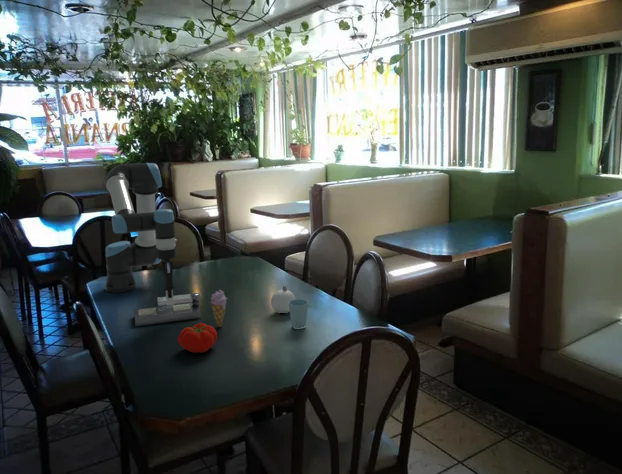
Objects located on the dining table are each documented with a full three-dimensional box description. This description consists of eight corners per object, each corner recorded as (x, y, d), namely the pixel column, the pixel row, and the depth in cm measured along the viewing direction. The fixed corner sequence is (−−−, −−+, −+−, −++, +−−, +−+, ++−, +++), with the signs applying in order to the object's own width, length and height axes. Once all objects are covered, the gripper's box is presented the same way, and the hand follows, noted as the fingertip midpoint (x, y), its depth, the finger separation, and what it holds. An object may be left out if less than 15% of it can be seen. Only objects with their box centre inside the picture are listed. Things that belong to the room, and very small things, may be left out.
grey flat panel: (157, 302, 214) (157, 296, 213) (199, 297, 220) (198, 291, 219) (158, 306, 209) (157, 300, 208) (200, 301, 214) (200, 295, 214)
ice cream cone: (231, 324, 202) (230, 289, 199) (224, 330, 196) (222, 293, 193) (217, 323, 204) (215, 287, 201) (209, 328, 198) (207, 292, 195)
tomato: (182, 361, 170) (181, 336, 168) (176, 347, 181) (175, 324, 180) (222, 353, 175) (221, 330, 174) (214, 340, 187) (213, 318, 185)
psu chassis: (135, 316, 213) (134, 304, 212) (198, 308, 222) (197, 297, 221) (135, 326, 202) (134, 313, 201) (202, 317, 210) (201, 305, 209)
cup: (302, 332, 194) (302, 306, 192) (285, 329, 197) (285, 303, 195) (311, 325, 200) (311, 300, 198) (294, 322, 204) (294, 298, 202)
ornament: (299, 310, 217) (298, 284, 215) (288, 318, 208) (287, 290, 206) (278, 307, 222) (277, 281, 219) (267, 315, 213) (266, 288, 210)
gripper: (177, 250, 195) (181, 308, 200) (174, 244, 207) (178, 298, 212) (157, 252, 193) (161, 310, 197) (155, 245, 205) (159, 301, 210)
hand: (170, 304), depth 205 cm, fingers closed
